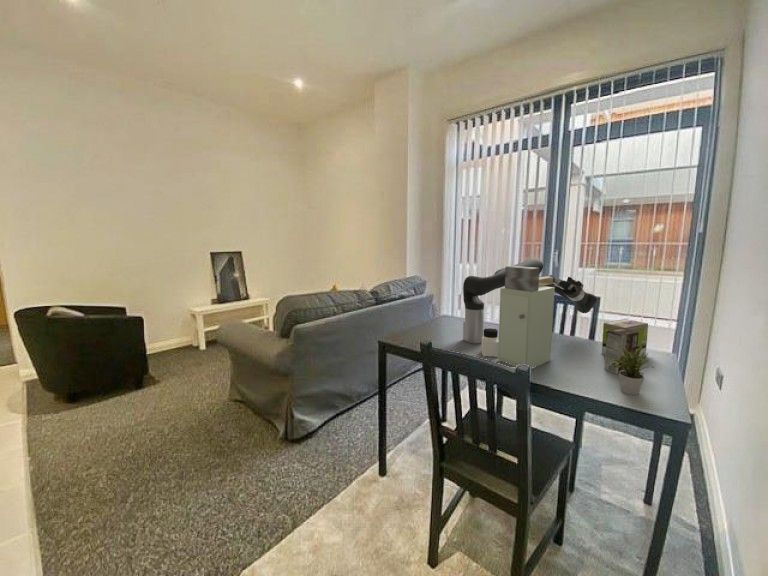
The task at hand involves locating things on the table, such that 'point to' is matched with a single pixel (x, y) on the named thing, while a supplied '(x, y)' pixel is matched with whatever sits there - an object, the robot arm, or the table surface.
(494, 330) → the medicine bottle
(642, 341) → the tea box
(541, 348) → the cabinet
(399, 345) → the table surface
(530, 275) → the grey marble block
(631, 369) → the house plant
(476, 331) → the robot arm
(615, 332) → the coffee box
